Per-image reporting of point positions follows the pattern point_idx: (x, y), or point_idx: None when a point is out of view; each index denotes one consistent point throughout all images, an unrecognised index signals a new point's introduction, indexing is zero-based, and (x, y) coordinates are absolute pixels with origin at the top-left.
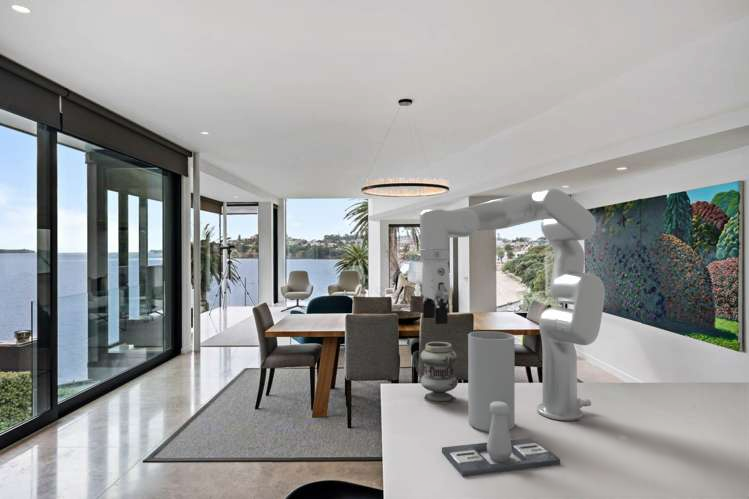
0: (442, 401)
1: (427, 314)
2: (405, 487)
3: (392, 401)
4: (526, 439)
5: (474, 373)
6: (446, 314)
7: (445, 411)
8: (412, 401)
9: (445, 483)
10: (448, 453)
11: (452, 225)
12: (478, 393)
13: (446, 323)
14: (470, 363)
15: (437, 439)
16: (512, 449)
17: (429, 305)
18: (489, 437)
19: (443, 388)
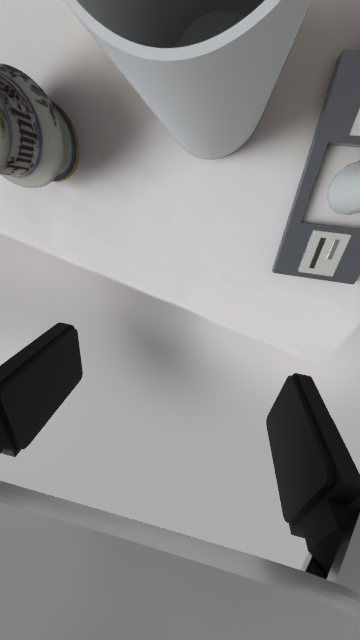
0: (74, 150)
1: (69, 376)
2: (322, 350)
3: (60, 248)
4: (344, 72)
5: (216, 126)
6: (330, 431)
7: (121, 170)
8: (62, 212)
9: (346, 309)
10: (296, 273)
11: None
12: (232, 135)
13: (305, 377)
14: (187, 120)
15: (229, 253)
16: (349, 144)
17: (21, 415)
18: (353, 210)
19: (63, 146)
